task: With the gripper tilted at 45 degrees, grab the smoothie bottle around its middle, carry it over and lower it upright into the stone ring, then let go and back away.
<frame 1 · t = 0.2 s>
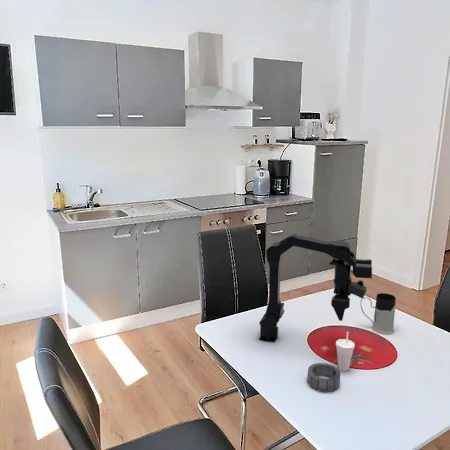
hand: (341, 315, 153), 14 cm above the table, tool pointing down, fingers open, 9 cm apart
glass holder: (376, 329, 173), on the table
smoothie: (343, 368, 144), on the table
stone ring: (323, 382, 135), on the table
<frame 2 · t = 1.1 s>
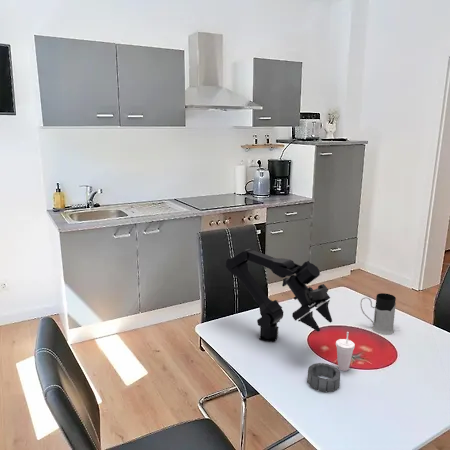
hand: (325, 326, 146), 13 cm above the table, tool tilted 45°, fingers open, 9 cm apart
nothing on the table moved.
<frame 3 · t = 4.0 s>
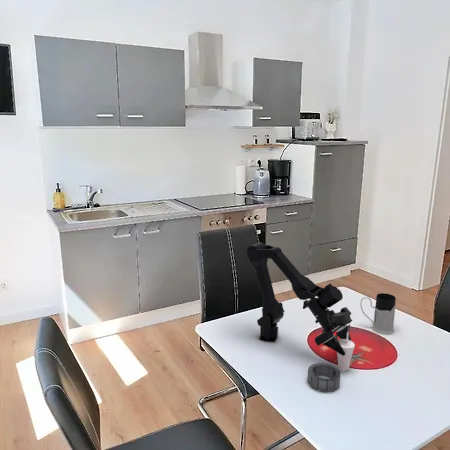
hand: (348, 351, 141), 7 cm above the table, tool tilted 45°, fingers closed on smoothie, 6 cm apart
smoothie: (343, 368, 144), on the table, touching gripper
everything else where it was.
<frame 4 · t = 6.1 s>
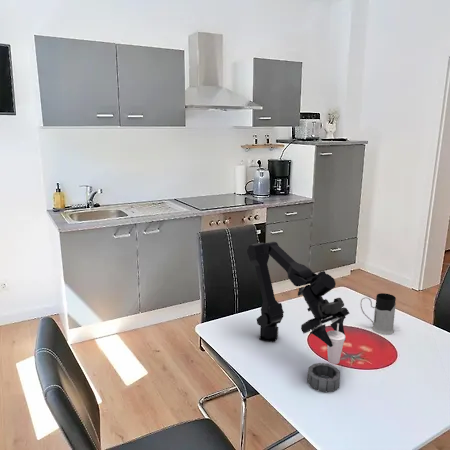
hand: (338, 343, 134), 13 cm above the table, tool tilted 45°, fingers closed on smoothie, 6 cm apart
smoothie: (333, 361, 137), point 6 cm above the table, touching gripper
everything else where it was.
when the fingers open (8 cm above the table, at t = 8.5 s): smoothie drops 1 cm, resting in stone ring.
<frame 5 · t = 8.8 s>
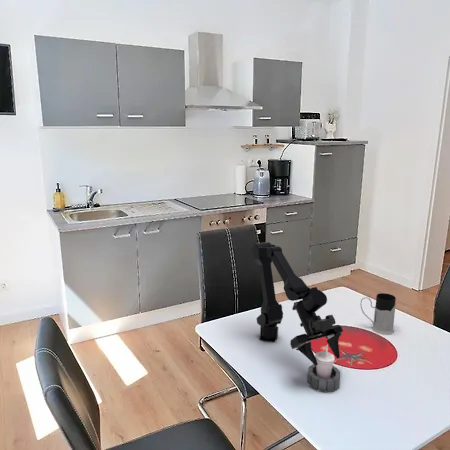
hand: (327, 361, 132), 9 cm above the table, tool tilted 45°, fingers open, 9 cm apart
smoothie: (323, 382, 136), resting in stone ring
everything else where it was.
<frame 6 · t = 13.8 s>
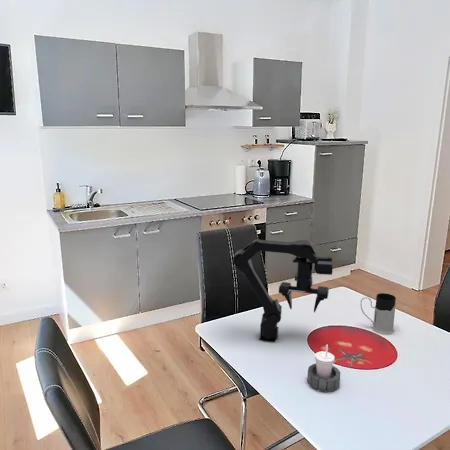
hand: (302, 310, 160), 13 cm above the table, tool pointing down, fingers open, 9 cm apart
nothing on the table moved.
at the end: smoothie 0.1 cm off-centre on the stone ring, point 0.0 cm above the stone ring's base; smoothie tilted 0°; the gripper is holding nothing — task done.
